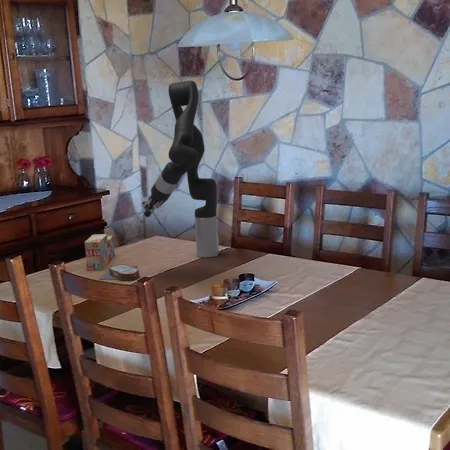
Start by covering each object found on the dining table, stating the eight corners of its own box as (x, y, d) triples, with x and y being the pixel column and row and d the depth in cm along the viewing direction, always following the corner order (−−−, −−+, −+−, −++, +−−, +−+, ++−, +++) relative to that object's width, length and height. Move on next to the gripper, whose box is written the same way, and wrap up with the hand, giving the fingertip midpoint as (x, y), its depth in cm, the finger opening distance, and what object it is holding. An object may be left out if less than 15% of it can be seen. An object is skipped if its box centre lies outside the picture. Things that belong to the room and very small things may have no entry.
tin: (123, 268, 256) (105, 275, 251) (122, 261, 255) (104, 267, 250) (143, 276, 245) (125, 283, 239) (142, 269, 244) (124, 275, 239)
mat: (137, 266, 260) (137, 265, 260) (126, 279, 243) (126, 278, 243) (111, 266, 261) (111, 265, 261) (99, 279, 245) (98, 278, 244)
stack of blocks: (101, 256, 278) (98, 229, 275) (115, 256, 277) (112, 228, 274) (87, 270, 257) (84, 241, 254) (102, 270, 257) (99, 241, 254)
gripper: (170, 174, 243) (152, 204, 254) (146, 182, 233) (128, 213, 244) (182, 188, 241) (163, 217, 252) (158, 197, 231) (140, 227, 242)
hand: (146, 215), depth 248 cm, fingers closed
